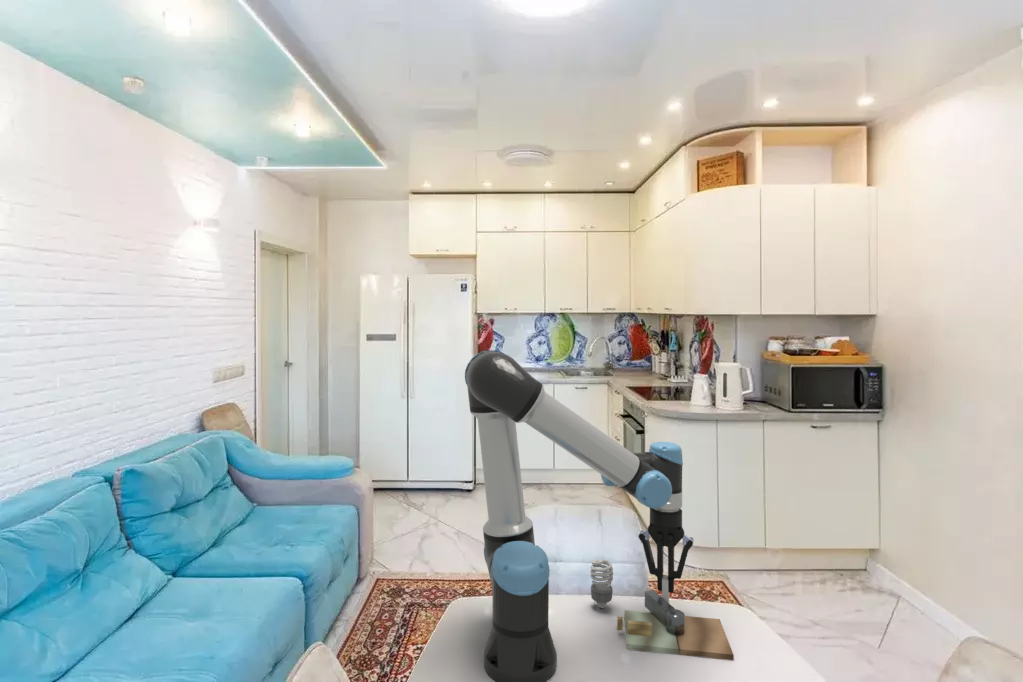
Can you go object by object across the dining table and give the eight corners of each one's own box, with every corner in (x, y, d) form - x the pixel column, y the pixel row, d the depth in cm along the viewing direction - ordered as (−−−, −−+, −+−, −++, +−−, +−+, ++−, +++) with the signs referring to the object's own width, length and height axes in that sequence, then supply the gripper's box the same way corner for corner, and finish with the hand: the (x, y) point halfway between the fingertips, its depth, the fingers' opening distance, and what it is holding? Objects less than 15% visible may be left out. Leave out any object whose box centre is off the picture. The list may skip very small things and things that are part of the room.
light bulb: (612, 602, 137) (612, 556, 136) (613, 614, 131) (614, 565, 131) (589, 601, 137) (590, 554, 137) (590, 612, 132) (590, 564, 131)
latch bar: (688, 633, 121) (688, 616, 120) (672, 636, 119) (672, 619, 119) (656, 604, 133) (656, 589, 133) (641, 607, 132) (641, 591, 132)
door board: (617, 648, 117) (617, 631, 117) (616, 614, 131) (616, 599, 131) (733, 660, 113) (733, 642, 113) (719, 624, 127) (719, 608, 127)
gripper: (636, 508, 129) (635, 606, 129) (693, 515, 124) (692, 617, 124) (640, 499, 136) (640, 592, 136) (695, 505, 131) (694, 601, 131)
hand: (665, 603), depth 130 cm, fingers closed
